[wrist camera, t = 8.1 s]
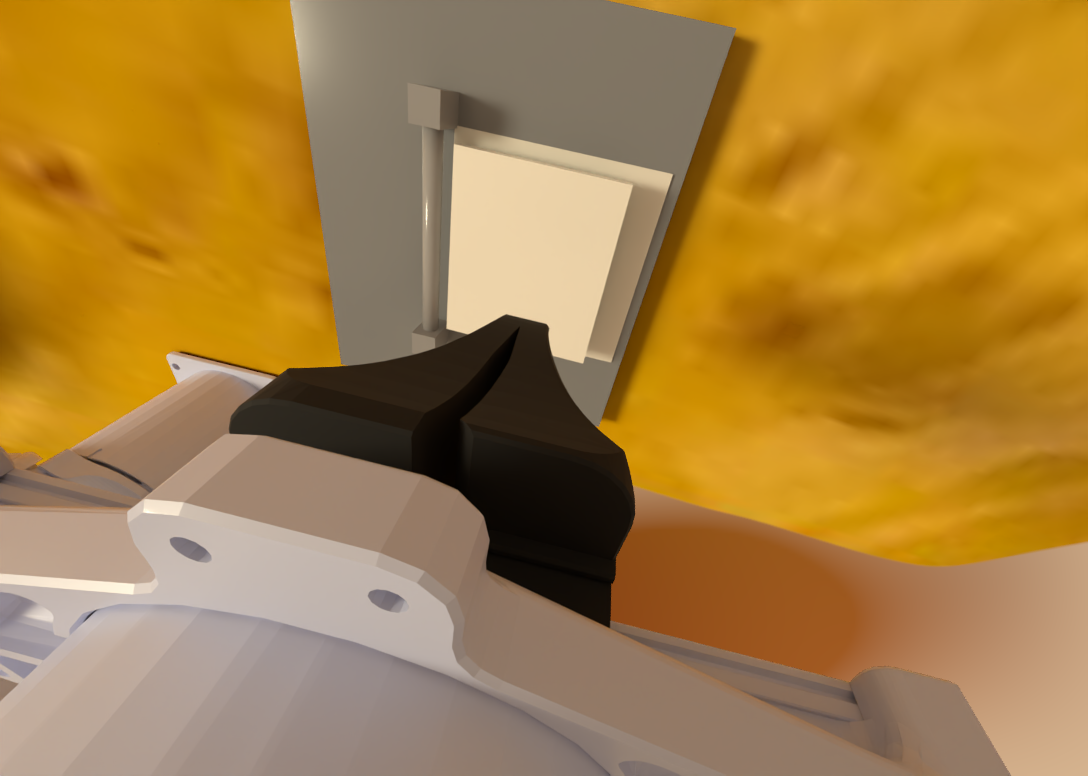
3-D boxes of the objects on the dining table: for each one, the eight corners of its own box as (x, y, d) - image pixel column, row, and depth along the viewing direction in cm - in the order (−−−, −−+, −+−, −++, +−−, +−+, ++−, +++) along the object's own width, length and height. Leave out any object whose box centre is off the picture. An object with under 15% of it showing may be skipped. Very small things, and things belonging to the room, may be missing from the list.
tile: (446, 328, 20) (452, 322, 21) (583, 363, 20) (584, 355, 20) (453, 144, 15) (461, 143, 16) (632, 185, 15) (633, 182, 16)
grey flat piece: (599, 416, 25) (596, 449, 22) (350, 355, 25) (321, 381, 23) (729, 33, 14) (752, 16, 12) (299, -59, 15) (234, -94, 12)
